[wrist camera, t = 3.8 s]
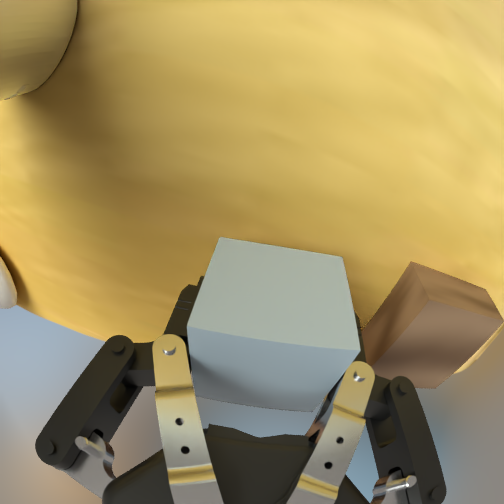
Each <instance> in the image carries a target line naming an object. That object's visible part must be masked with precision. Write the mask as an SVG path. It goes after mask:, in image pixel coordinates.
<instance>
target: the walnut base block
mask: <svg viewBox="0 0 504 504" xmlns="http://www.w3.org/2000/svg"><path fill="white" fill-rule="evenodd" d="M503 322H504V320H503V318H502V317H501V315H500V313H499V311H498V309H497V308H496V306H495V304H494V302H493V301H492V299H491V297H490V296H489V294H488V292H487V291H486V289H483V288H481V287H478V286H476V285H473V284H471V283H468V282H466V281H463V280H460V279H458V278H455V277H452V276H450V275H447V274H444V273H442V272H439V271H436V270H434V269H431V268H428V267H425V266H423V265H420V264H417V263H414V262H410V264H409V265H408V267H407V268H406V270H405V272H404V273H403V275H402V276H401V278H400V279H399V281H398V282H397V284H396V285H395V287H394V288H393V290H392V291H391V293H390V294H389V295H388V297H387V298H386V300H385V301H384V302H383V304H382V305H381V307H380V308H379V309H378V311H377V312H376V313H375V315H374V316H373V317H372V319H371V320H370V321H369V323H368V324H367V325H366V327H365V328H364V329H363V330H362V332H361V333H362V338H363V344H364V350H365V356H366V362H367V364H368V365H369V366H370V367H371V368H372V369H373V371H374V374H376V375H378V376H380V377H383V378H386V379H389V380H392V379H393V378H395V377H397V376H404V377H407V378H408V379H410V380H411V381H412V383H413V385H414V387H415V388H436V387H437V386H439V385H440V384H441V383H442V382H444V381H445V380H446V379H447V378H448V377H450V376H451V375H452V374H453V373H454V372H455V371H456V370H457V369H459V368H460V367H461V366H462V365H463V364H464V363H465V362H466V361H467V360H468V359H469V358H470V357H471V356H472V355H473V354H474V353H475V352H476V351H477V350H478V349H479V348H480V347H481V346H482V345H483V344H484V343H485V342H486V341H487V340H488V339H489V338H490V337H491V336H492V334H493V333H494V332H495V331H496V330H497V329H498V328H499V327H500V325H501V324H502V323H503Z"/></svg>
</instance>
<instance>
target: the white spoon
mask: <svg viewBox="0 0 504 504" xmlns="http://www.w3.org/2000/svg"><path fill="white" fill-rule="evenodd" d="M16 302H17V291H16V287H15V285H14V282H13V279H12V277H11V275H10V272H9V270H8V269H7V267H6V265H5V263H4V261H3V260H2V258H1V257H0V308H5V309H6V308H7V309H8V308H11V307H13V306H15V305H16Z"/></svg>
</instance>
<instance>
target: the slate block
mask: <svg viewBox="0 0 504 504" xmlns="http://www.w3.org/2000/svg"><path fill="white" fill-rule="evenodd" d="M187 334H188V343H189V352H190V360H191V368H192V375H193V383H194V390H195V396H197V397H202V398H207V399H212V400H217V401H222V402H228V403H234V404H240V405H246V406H254V407H261V408H269V409H279V410H289V411H303V412H313V410H314V409H315V408H316V407H317V406H318V405H319V404H320V402H321V401H322V400H323V399H324V398H325V396H326V395H327V394H328V393H329V392H330V390H331V389H332V388H333V387H334V385H335V384H336V383H337V382H338V380H339V379H340V378H341V376H342V375H343V374H344V372H345V371H346V370H347V369H348V367H349V366H350V364H351V363H352V362H353V360H354V359H355V358H356V356H357V355H358V353H359V352H360V351H361V349H360V343H359V337H358V331H357V325H356V320H355V314H354V309H353V304H352V299H351V294H350V289H349V285H348V280H347V275H346V271H345V267H344V262H343V258H342V257H340V256H334V255H328V254H322V253H316V252H310V251H304V250H298V249H292V248H286V247H280V246H274V245H268V244H261V243H255V242H249V241H243V240H237V239H230V238H224V237H220V238H219V240H218V243H217V245H216V248H215V251H214V253H213V256H212V258H211V261H210V264H209V266H208V269H207V272H206V274H205V277H204V280H203V282H202V285H201V288H200V290H199V293H198V296H197V299H196V301H195V304H194V307H193V310H192V312H191V315H190V318H189V321H188V324H187Z"/></svg>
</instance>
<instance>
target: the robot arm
mask: <svg viewBox="0 0 504 504" xmlns="http://www.w3.org/2000/svg"><path fill="white" fill-rule="evenodd" d="M76 14H77V0H0V101H1V100H6V99H9V98H12V97H15V96H17V95H21V94H25V93H28V92H31V91H33V90H35V89H37V88H38V87H39V86H40V85H42V84H43V83H44V82H45V81H46V80H47V79H48V78H49V76H50V75H51V74H52V73H53V71H54V70H55V68H56V67H57V65H58V64H59V62H60V60H61V58H62V56H63V54H64V52H65V51H66V48H67V45H68V43H69V41H70V38H71V35H72V32H73V28H74V25H75V20H76ZM204 277H205V276H201V277H200V280H199V282H198V285H197V286H195V285H188V286H187V287H186V288H184V289H183V290H182V291H181V294H180V296H179V298H178V301H177V303H176V305H175V308H174V310H173V312H172V315H171V317H170V320H169V322H168V325H167V327H166V330H165V332H164V334H163V335H162V336H160V337H158V338H157V339H156V340H155V341H153V342H149V343H133V342H132V341H131V339H129V338H128V337H126V336H123V335H116V336H113V337H111V338H109V339H108V340H107V341H106V342H105V344H104V345H103V346H102V348H101V349H100V350H99V352H98V353H97V354H96V355H95V357H94V358H93V359H92V361H91V362H90V363H89V365H88V366H87V367H86V369H85V370H84V371H83V373H82V374H81V375H80V377H79V378H78V379H77V381H76V382H75V383H74V385H73V386H72V388H71V389H70V391H69V392H68V393H67V395H66V396H65V397H64V399H63V400H62V402H61V403H60V405H59V406H58V407H57V409H56V410H55V412H54V413H53V415H52V416H51V418H50V419H49V421H48V422H47V424H46V425H45V427H44V428H43V430H42V432H41V433H40V435H39V436H38V438H37V439H36V444H35V448H36V452H37V454H38V456H39V458H40V459H41V460H42V461H43V462H45V463H46V464H48V465H51V466H53V467H55V468H56V469H58V470H61V471H64V472H65V473H67V474H68V475H69V476H71V477H72V478H73V479H74V480H76V481H77V482H78V483H80V484H81V485H82V486H84V487H86V488H87V489H88V490H90V491H91V492H92V493H94V494H95V495H97V496H98V497H100V498H102V504H441V503H442V502H443V501H444V499H445V496H446V485H445V481H444V477H443V473H442V469H441V465H440V462H439V458H438V455H437V451H436V448H435V445H434V442H433V438H432V435H431V432H430V429H429V426H428V423H427V420H426V417H425V414H424V411H423V408H422V406H421V403H420V400H419V398H418V395H417V392H416V390H415V387H414V385H413V383H412V381H411V380H410V379H408V378H407V377H404V376H397V377H395V378H393V379H392V380H389V379H386V378H383V377H380V376H378V375H376V374H374V371H373V369H372V368H371V367H370V366H369V365H368V364H367V362H366V356H365V350H364V344H363V338H362V333H361V329H360V328H361V327H360V322H359V318H358V317H357V315H356V313H355V312H354V314H355V320H356V325H357V331H358V337H359V343H360V349H361V351H360V352H359V353H358V355H357V356H356V358H355V359H354V360H353V362H352V363H351V364H350V366H349V367H348V369H347V370H346V371H345V372H344V374H343V375H342V376H341V378H340V379H339V380H338V382H337V383H336V384H335V385H334V387H333V388H332V389H331V390H330V392H329V393H328V394H327V395H326V396H325V398H324V401H323V403H322V405H321V407H320V409H319V411H318V413H317V415H316V418H315V420H314V422H313V424H312V425H311V427H310V429H309V430H308V431H307V433H306V434H305V436H303V435H302V436H301V435H287V434H284V435H277V436H271V437H262V438H259V437H255V436H252V435H250V434H247V433H244V432H242V431H239V430H237V429H234V428H228V427H223V426H218V425H212V424H209V427H208V429H202V425H201V421H200V417H199V412H198V407H197V403H196V398H195V393H194V389H193V385H192V380H191V375H190V374H191V371H192V368H191V360H190V352H189V343H188V334H187V324H188V321H189V318H190V315H191V312H192V310H193V307H194V304H195V301H196V299H197V296H198V293H199V290H200V288H201V285H202V282H203V280H204ZM143 386H156V391H155V399H156V407H157V414H158V421H159V428H160V434H161V440H162V445H163V449H161V450H160V451H158V452H157V453H155V454H154V455H152V456H151V457H149V458H148V459H147V460H145V461H143V462H142V463H140V464H138V465H137V466H135V467H134V468H132V469H130V470H129V471H127V472H126V473H124V474H122V475H121V476H119V477H117V478H116V477H115V476H114V474H113V471H112V463H113V460H114V451H113V448H112V447H111V445H110V444H109V442H110V440H111V439H112V437H113V435H114V434H115V432H116V430H117V429H118V427H119V425H120V424H121V422H122V420H123V419H124V417H125V416H126V414H127V412H128V411H129V409H130V407H131V406H132V404H133V402H134V401H135V399H136V397H137V396H138V394H139V393H140V391H141V390H142V388H143ZM363 416H364V417H363ZM365 423H366V426H367V430H368V433H369V438H370V442H371V445H372V450H373V453H374V458H375V462H376V466H377V470H378V475H379V480H378V481H377V482H376V484H375V486H374V489H373V494H374V496H373V499H372V501H371V503H369V502H368V501H367V499H366V498H365V497H364V496H363V495H362V494H361V493H360V491H359V490H358V489H357V488H356V486H355V485H354V484H353V483H352V482H351V480H350V479H349V478H348V477H347V476H346V474H345V473H346V471H347V469H348V467H349V464H350V462H351V460H352V457H353V454H354V452H355V450H356V447H357V445H358V442H359V439H360V437H361V434H362V431H363V428H364V426H365Z"/></svg>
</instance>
